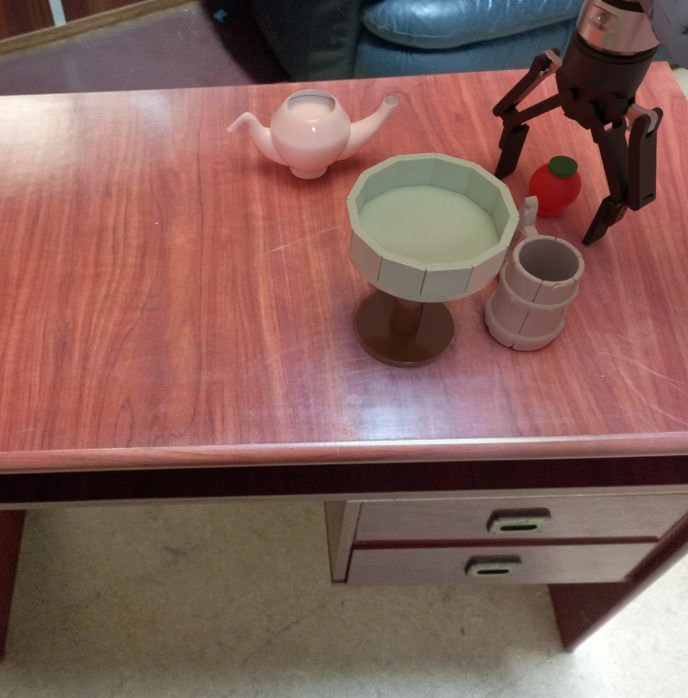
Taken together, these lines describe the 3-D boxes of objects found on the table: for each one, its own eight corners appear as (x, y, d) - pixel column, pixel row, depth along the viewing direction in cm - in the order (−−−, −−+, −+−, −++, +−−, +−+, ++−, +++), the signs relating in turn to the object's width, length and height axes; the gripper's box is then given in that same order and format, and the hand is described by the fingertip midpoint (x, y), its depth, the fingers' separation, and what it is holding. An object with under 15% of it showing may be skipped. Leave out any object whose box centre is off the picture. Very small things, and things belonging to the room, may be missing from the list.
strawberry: (581, 210, 83) (600, 167, 78) (547, 230, 82) (565, 188, 77) (545, 184, 86) (562, 141, 81) (512, 203, 85) (527, 161, 80)
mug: (496, 359, 72) (530, 281, 63) (459, 271, 79) (485, 188, 69) (571, 348, 73) (616, 269, 63) (527, 262, 79) (562, 178, 70)
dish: (501, 341, 74) (553, 220, 60) (395, 409, 70) (424, 296, 56) (409, 258, 81) (437, 133, 67) (308, 316, 77) (315, 195, 63)
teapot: (229, 146, 94) (224, 83, 86) (384, 138, 93) (393, 74, 85) (229, 197, 88) (224, 135, 81) (394, 190, 87) (405, 126, 80)
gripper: (488, -8, 72) (448, 160, 89) (708, 118, 59) (610, 286, 77) (543, -33, 74) (493, 137, 91) (766, 84, 61) (658, 255, 79)
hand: (546, 205), depth 84 cm, fingers open, 13 cm apart
